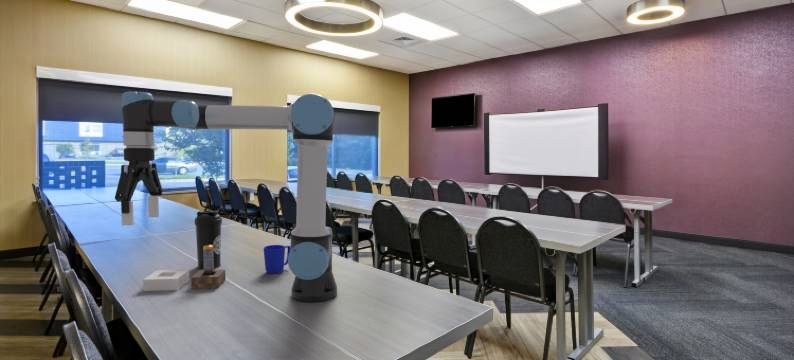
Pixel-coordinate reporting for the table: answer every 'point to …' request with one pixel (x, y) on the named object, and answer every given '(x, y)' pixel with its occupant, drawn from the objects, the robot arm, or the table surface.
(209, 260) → the pin
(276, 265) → the mug
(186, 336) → the table surface
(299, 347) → the table surface
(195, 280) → the mount block
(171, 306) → the table surface
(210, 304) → the table surface
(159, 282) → the dock block
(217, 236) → the water bottle
